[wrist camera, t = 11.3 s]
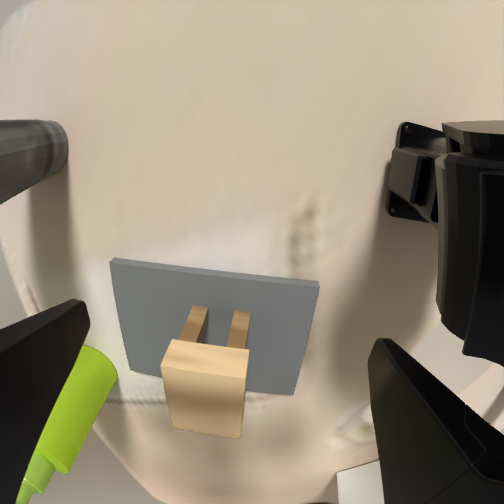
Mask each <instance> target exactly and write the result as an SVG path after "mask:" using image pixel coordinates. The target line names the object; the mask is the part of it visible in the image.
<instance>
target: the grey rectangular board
mask: <svg viewBox="0 0 504 504" xmlns="http://www.w3.org/2000/svg"><path fill="white" fill-rule="evenodd" d="M109 263H110V270H111V277H112V284H113V290H114V296H115V302H116V307H117V312H118V318H119V323H120V328H121V332H122V337H123V341H124V346H125V350H126V354H127V359H128V363H129V367H130V370H133V371H137V372H141V373H145V374H150V375H154V376H159V377H162V372H161V367H160V365H161V363H162V360H163V358H164V356H165V353H166V351H167V349H168V347H169V345H170V342H171V340H172V339H176V340H178V339H179V337H180V334H181V332H182V330H183V327H184V325H185V323H186V320H187V318H188V316H189V314H190V311H191V309H192V307H193V305H195V306H203V307H208V310H209V320H208V323H207V326H206V329H205V332H204V335H203V338H202V341H201V344H208V345H215V346H223V347H226V346H227V341H228V337H229V333H230V328H231V324H232V320H233V315H234V311H235V310H236V311H244V312H251V313H250V325H249V331H248V338H247V345H246V349H248V350H249V359H248V370H247V381H246V391H253V392H263V393H274V394H287V395H293V394H294V390H295V387H296V383H297V379H298V376H299V372H300V368H301V364H302V360H303V357H304V353H305V349H306V345H307V340H308V336H309V332H310V328H311V324H312V319H313V315H314V311H315V306H316V302H317V297H318V292H319V288H320V286H319V282H318V281H308V280H298V279H289V278H279V277H269V276H260V275H251V274H242V273H233V272H224V271H215V270H207V269H198V268H190V267H182V266H173V265H165V264H157V263H149V262H142V261H134V260H126V259H119V258H113V259H112V260H111V261H110V262H109Z"/></svg>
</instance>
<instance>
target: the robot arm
mask: <svg viewBox="0 0 504 504" xmlns="http://www.w3.org/2000/svg"><path fill="white" fill-rule="evenodd" d="M406 126H408V128H409V131H408V132H407V133H406V132H405V127H406ZM442 129H443V132H442V131H438V130H435V129H432V128H428V127H425V126H421V125H418V124H414V123H410V122H402V123H401V124H400V126H399V132H398V139H397V147H396V148H395V149H394V150H393V152H392V158H391V165H390V171H389V177H388V183H387V186H388V188H389V189H390V190H389V195H388V200H387V205H386V211H387V213H388V214H389V215H390V216H393V217H398V218H404V219H410V220H416V221H422V222H428V223H431V224H432V225H433V226H435V227H436V228H437V229H438V230H439V249H438V277H437V293H436V302H437V305H438V308H439V312H440V314H441V322H442V323H443V324H444V325H445V327H446V328H447V329H448V330H449V331H450V332H452V333H453V334H454V335H456V336H457V337H459V338H460V339H462V340H464V346H463V350H462V353H463V354H464V355H466V356H472V357H478V358H484V359H487V360H489V361H492V362H495V363H497V364H500V365H501V366H503V367H504V121H466V122H448V123H442ZM393 206H396V209H395V211H393V212H392V211H391V208H392V207H393ZM89 328H90V319H89V315H88V311H87V307H86V304H85V302H84V301H82V300H77V299H72V300H69V301H67V302H64V303H62V304H59V305H57V306H55V307H52V308H50V309H47V310H45V311H43V312H40V313H38V314H35V315H33V316H31V317H28V318H26V319H24V320H22V321H19V322H17V323H14V324H12V325H10V326H7V327H5V328H3V329H0V504H15V503H16V500H17V497H18V494H19V491H20V488H21V485H22V482H23V479H24V477H25V474H26V471H27V469H28V465H29V463H30V461H31V458H32V456H33V453H34V451H35V448H36V446H37V443H38V441H39V439H40V436H41V434H42V432H43V429H44V427H45V425H46V423H47V420H48V418H49V416H50V414H51V412H52V410H53V407H54V405H55V403H56V401H57V399H58V397H59V395H60V393H61V391H62V389H63V387H64V385H65V383H66V381H67V379H68V377H69V375H70V373H71V371H72V369H73V367H74V365H75V362H76V360H77V358H78V355H79V353H80V350H81V348H82V345H83V343H84V341H85V338H86V336H87V333H88V331H89ZM368 374H369V387H370V402H371V411H372V417H373V423H374V429H375V435H376V442H377V448H378V455H379V462H380V470H381V478H382V486H383V496H384V504H504V435H503V434H502V433H500V432H499V431H498V430H496V429H495V428H494V427H493V426H491V425H490V424H489V423H487V422H486V421H485V420H484V419H483V418H481V417H480V416H479V415H478V414H477V413H476V412H474V411H473V410H472V409H471V408H470V407H469V406H468V405H465V403H464V402H463V401H462V400H461V399H460V398H459V397H457V396H456V395H455V394H454V393H453V392H452V391H451V390H450V389H448V388H447V387H446V386H445V385H444V384H443V383H441V382H440V381H439V380H438V379H437V378H436V377H435V376H433V375H432V374H431V373H430V372H429V371H428V370H427V369H425V368H424V367H423V366H422V365H421V364H420V363H419V362H417V361H416V360H415V359H414V358H413V357H412V356H410V355H409V354H408V353H407V352H406V351H405V350H403V349H402V348H401V347H400V346H399V345H398V344H396V343H395V342H394V341H393V340H392V339H390V338H378V339H377V340H376V342H375V344H374V347H373V349H372V352H371V354H370V356H369V359H368Z"/></svg>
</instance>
